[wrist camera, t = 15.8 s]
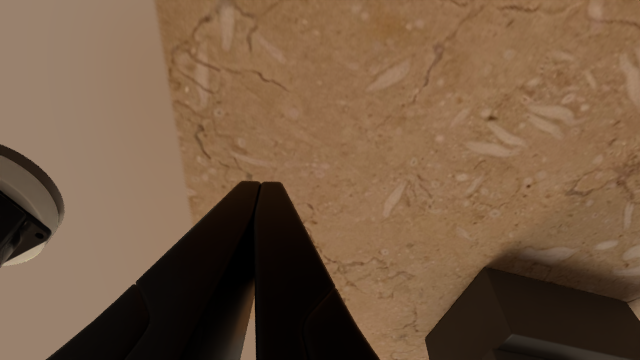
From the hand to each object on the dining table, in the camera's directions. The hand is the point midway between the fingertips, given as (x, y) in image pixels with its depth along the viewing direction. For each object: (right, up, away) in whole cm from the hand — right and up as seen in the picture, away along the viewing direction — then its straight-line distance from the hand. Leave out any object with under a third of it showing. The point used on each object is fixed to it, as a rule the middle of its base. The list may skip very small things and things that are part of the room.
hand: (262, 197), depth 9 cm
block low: (+17, -10, +23) cm, 31 cm away
